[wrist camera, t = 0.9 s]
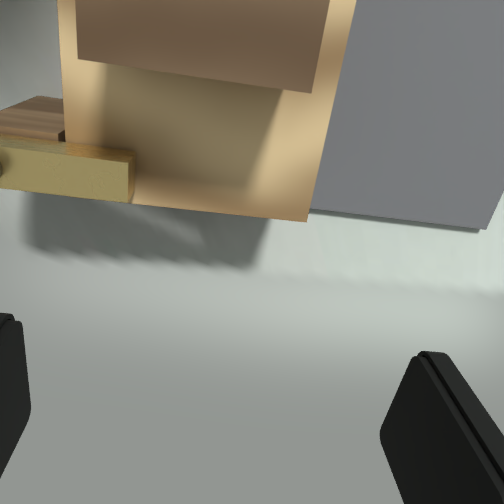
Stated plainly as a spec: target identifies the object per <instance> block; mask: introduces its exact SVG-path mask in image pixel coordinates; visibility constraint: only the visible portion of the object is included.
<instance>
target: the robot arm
mask: <svg viewBox="0 0 504 504" xmlns="http://www.w3.org/2000/svg"><path fill="white" fill-rule="evenodd" d="M26 364H27V363H26V355H25V345H24V335H23V327H22V323H21V322H20V321H15V319H14V316H13V315H12V314H8V313H0V478H1V475H2V474H3V472H4V469H5V467H6V465H7V463H8V461H9V459H10V457H11V455H12V453H13V451H14V449H15V447H16V445H17V443H18V441H19V438H20V437H21V435H22V433H23V431H24V429H25V426H26V424H27V422H28V420H29V416H30V411H31V401H30V392H29V382H28V373H27V365H26ZM380 441H381V445H382V447H383V450H384V452H385V455H386V457H387V460H388V463H389V466H390V468H391V471H392V473H393V476H394V479H395V481H396V484H397V486H398V489H399V491H400V494H401V497H402V499H403V502H404V504H504V436H503V434H502V433H501V431H500V430H499V428H498V427H497V425H496V424H495V422H494V421H493V420H492V418H491V417H490V416H489V414H488V412H487V411H486V409H485V408H484V407H483V405H482V404H481V402H480V401H479V399H478V398H477V396H476V395H475V394H474V392H473V391H472V389H471V388H470V386H469V385H468V383H467V382H466V380H465V379H464V378H463V376H462V375H461V373H460V372H459V371H458V369H457V368H456V366H455V365H454V363H453V362H452V360H451V359H450V357H449V356H448V355H447V354H445V353H441V352H429V351H421V352H420V353H418V355H417V356H414V357H412V359H411V361H410V363H409V365H408V368H407V369H406V372H405V374H404V376H403V379H402V381H401V383H400V385H399V388H398V390H397V392H396V395H395V397H394V399H393V401H392V404H391V406H390V408H389V410H388V413H387V415H386V417H385V420H384V422H383V424H382V426H381V429H380Z"/></svg>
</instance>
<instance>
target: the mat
mask: <svg viewBox="0 0 504 504" xmlns="http://www.w3.org/2000/svg"><path fill="white" fill-rule="evenodd" d="M503 191H504V0H356V5H355V9H354V14H353V18H352V23H351V27H350V31H349V36H348V40H347V45H346V49H345V54H344V58H343V62H342V67H341V71H340V76H339V80H338V85H337V89H336V94H335V98H334V102H333V107H332V111H331V116H330V120H329V125H328V129H327V134H326V138H325V142H324V147H323V151H322V156H321V160H320V165H319V169H318V174H317V178H316V182H315V187H314V191H313V196H312V200H311V205H310V208H311V209H320V210H328V211H336V212H344V213H353V214H361V215H369V216H377V217H385V218H394V219H402V220H410V221H418V222H426V223H435V224H443V225H451V226H459V227H467V228H476V229H484V230H486V229H487V226H488V224H489V222H490V220H491V218H492V215H493V213H494V211H495V209H496V207H497V204H498V202H499V200H500V198H501V196H502V194H503Z"/></svg>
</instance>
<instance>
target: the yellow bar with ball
mask: <svg viewBox="0 0 504 504" xmlns="http://www.w3.org/2000/svg"><path fill="white" fill-rule="evenodd" d="M135 167H136V151H128V150H121V149H113V148H106V147H98V146H91V145H83V144H75V143H68V142H60V141H53V140H45V139H38V138H30V137H23V136H15V135H8V134H0V188H3V189H12V190H21V191H29V192H38V193H46V194H55V195H63V196H72V197H81V198H89V199H98V200H106V201H115V202H123V203H128V201H129V199H130V197H131V195H132V193H133V192H134V190H135Z"/></svg>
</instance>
